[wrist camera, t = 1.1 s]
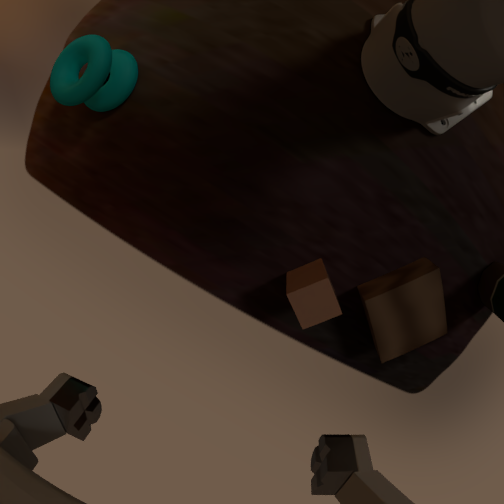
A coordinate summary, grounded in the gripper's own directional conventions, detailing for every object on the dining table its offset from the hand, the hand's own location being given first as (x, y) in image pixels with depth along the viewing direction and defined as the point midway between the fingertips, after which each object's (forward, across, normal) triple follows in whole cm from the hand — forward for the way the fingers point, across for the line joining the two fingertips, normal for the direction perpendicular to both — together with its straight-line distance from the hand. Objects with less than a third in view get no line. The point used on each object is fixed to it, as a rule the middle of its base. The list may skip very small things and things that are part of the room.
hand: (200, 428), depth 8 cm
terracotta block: (+30, -7, +6) cm, 32 cm away
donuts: (+31, +25, -20) cm, 44 cm away
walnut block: (+31, -21, +7) cm, 38 cm away
